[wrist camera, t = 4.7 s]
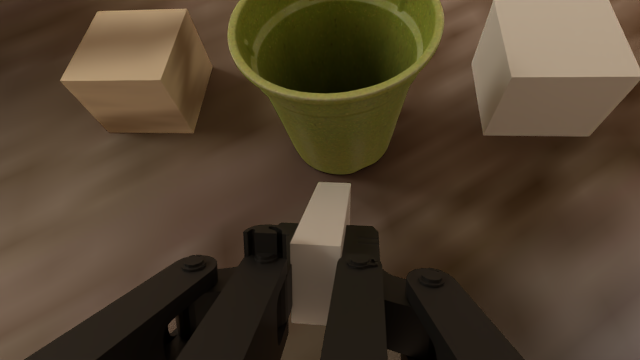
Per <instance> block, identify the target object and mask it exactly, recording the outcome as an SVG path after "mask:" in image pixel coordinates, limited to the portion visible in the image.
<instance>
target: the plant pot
mask: <svg viewBox="0 0 640 360" xmlns="http://www.w3.org/2000/svg"><path fill="white" fill-rule="evenodd" d="M443 28H444V12H443V8H442V5H441V2H440V0H240V1H239V2H238V3H237V5H236V7H235V8H234V10H233V12H232V15H231V17H230V20H229V24H228V34H227V38H228V46H229V50H230V53H231V56H232V58H233V60H234V62H235V64H236V66H237V67H238V69H239V70H240V71H241V73H242V74H243V75H244V76H245V77H246V78H247V79H248V80H249V81H250V82H251V83H253V84H254V85H255V86H257V87H258V88H260V89H261V91H262V92H263V93H264V94H265V95H266V96H268V97H269V99H270V101H271V103H272V105H273V107H274V108H275V110H276V112H277V114H278V116H279V118H280V120H281V121H282V123H283V125H284V127H285V129H286V131H287V133H288V135H289V137H290V139H291V141H292V143H293V145H294V147H295V149H296V150H297V152H298V153H299V155H300V156H301V157H302V159H303V160H304V161H305V162H306V163H307V164H309V165H310V166H312V167H313V168H315V169H317V170H320V171H323V172H326V173H331V174H350V173H354V172H356V171H358V170H360V169H362V168H364V167H366V166H369V165H371V164H373V163H375V162H377V161H378V160H379V159H380V158H381V157H382V156H383V154H384V153H385V151H386V150H387V148H388V146H389V143H390V140H391V137H392V135H393V132H394V129H395V126H396V123H397V120H398V117H399V114H400V112H401V109H402V106H403V103H404V100H405V98H406V95H407V92H408V89H409V86H410V84H411V83H412V82H413V81H414V79H415V78H416V76H417V75H418V73H419V72H420V71H421V70H422V69H423V68H424V67H425V66H426V65H427V63H428V62H429V61H430V59H431V58H432V57H433V55H434V54H435V52H436V50H437V48H438V46H439V43H440V40H441V37H442V34H443Z"/></svg>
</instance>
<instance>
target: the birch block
mask: <svg viewBox="0 0 640 360" xmlns="http://www.w3.org/2000/svg"><path fill="white" fill-rule="evenodd" d="M212 68H213V67H212V64H211V62H210V60H209V58H208V55H207V53H206V51H205V48H204V46H203V44H202V42H201V39H200V37H199V35H198V33H197V30H196V28H195V26H194V24H193V21H192V19H191V17H190V14H189V12H188V10H187V9H157V10H122V11H97V13H96V15H95V17H94V19H93V21H92V22H91V24H90V26H89V28H88V30H87V32H86V33H85V35H84V37H83V39H82V41H81V43H80V45H79V46H78V48H77V50H76V52H75V54H74V56H73V57H72V59H71V61H70V63H69V65H68V67H67V69H66V70H65V72H64V74H63V76H62V78H61V80H60V82H61V83H62V84H63V85H64V86H65V87H66V88H67V89H68V90H69V91H70V92H71V93H72V94H73V95H74V96H75V97H76V98H77V100H78V101H79V102H80V103H81V104H82V105H83V106H84V107H85V108H86V109H87V110H88V111H89V112H90V113H91V114H92V115H93V116H94V117H95V118H96V120H97V121H98V122H99V123H100V124H101V125H102V126H103V127H104V128H105V129H106V130H107V131H108V132H109V133H194V131H195V127H196V124H197V120H198V117H199V113H200V110H201V106H202V103H203V99H204V96H205V92H206V89H207V85H208V82H209V78H210V75H211V71H212Z"/></svg>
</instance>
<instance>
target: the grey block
mask: <svg viewBox="0 0 640 360" xmlns="http://www.w3.org/2000/svg"><path fill="white" fill-rule="evenodd" d="M472 71H473V77H474V83H475V89H476V95H477V101H478V107H479V113H480V119H481V126H482V132H483V135H486V136H588V137H589V136H590V135H591V134H592V133H593V132H594V131H595V130H596V128H597V127H598V126H599V125H600V124H601V123H602V122H603V121H604V120H605V118H606V117H607V116H608V115H609V114H610V113H611V112H612V111H613V110H614V109H615V107H616V106H617V105H618V104H619V103H620V102H621V101H622V100H623V99H624V98H625V96H626V95H627V94H628V93H629V92H630V91H631V90H632V89H633V88H634V87H635V85H636V84H637V83H638V82H639V81H640V68H639V66H638V63H637V61H636V59H635V57H634V55H633V52H632V50H631V48H630V46H629V44H628V41H627V39H626V37H625V35H624V33H623V30H622V28H621V26H620V24H619V22H618V19H617V17H616V15H615V13H614V11H613V8H612V6H611V4H610V2H609V0H493V3H492V6H491V9H490V12H489V15H488V18H487V20H486V23H485V26H484V29H483V32H482V35H481V38H480V41H479V43H478V46H477V49H476V52H475V55H474V58H473V61H472Z"/></svg>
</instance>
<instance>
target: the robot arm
mask: <svg viewBox="0 0 640 360" xmlns="http://www.w3.org/2000/svg"><path fill="white" fill-rule="evenodd" d="M350 201H351V183H331V182H318V184H317V186H316V188H315V190H314V193H313V195H312V197H311V199H310V201H309V203H308V206H307V208H306V210H305V212H304V214H303V216H302V219H301V221H300V223H280V224H279V225H258V226H253V227H250V228H248V229H246V230H245V231H244V232H243V235H244V253H245V257H244V258H243V260H242V261H241V263H240V264H239V266H238V267H233V268H224V269H217V261H216V260H215V259H214V258H212V257H210V256H203V255H196V256H195V255H191V256H189V257H186V258H183V259H180V260H178V261H176V262H175V263H173V264H172V265H170V266H168V267H167V268H165V269H164V270H162V271H161V272H159V273H158V274H156V275H155V276H153V277H151V278H150V279H148V280H147V281H145V282H144V283H142V284H141V285H139V286H137V287H136V288H134V289H133V290H131V291H130V292H128V293H127V294H125V295H124V296H122V297H120V298H119V299H117V300H116V301H114V302H113V303H111V304H110V305H108V306H107V307H105V308H103V309H102V310H100V311H99V312H97V313H96V314H94V315H93V316H91V317H89V318H88V319H86V320H85V321H83V322H82V323H80V324H79V325H77V326H76V327H74V328H72V329H71V330H69V331H68V332H66V333H65V334H63V335H62V336H60V337H58V338H57V339H55V340H54V341H52V342H51V343H49V344H48V345H46V346H45V347H43V348H41V349H40V350H38V351H37V352H35V353H34V354H32V355H31V356H29V357H27V358H26V359H24V360H280V359H281V356H282V353H283V349H284V346H285V343H286V340H287V336H288V318H289V315H290V312H291V321H292V323H300V324H312V325H324V326H326V330H325V336H324V341H323V347H322V353H321V359H320V360H388V356H387V349H389V350H392V351H395V352H398V353H401V360H524V359H523V357H522V356H521V355H520V354H519V353H518V352H517V350H516V349H515V348H514V347H513V346H512V345H511V344H510V342H509V341H508V340H507V339H506V338H505V337H504V335H503V334H502V333H501V332H500V331H499V330H498V329H497V327H496V326H495V325H494V324H493V323H492V322H491V320H490V319H489V318H488V317H487V316H486V315H485V314H484V312H483V311H482V310H481V309H480V308H479V307H478V305H477V304H476V303H475V302H474V301H473V300H472V299H471V297H470V296H469V295H468V294H467V293H466V292H465V290H464V289H463V288H462V287H461V286H460V285H459V284H458V282H457V281H456V280H455V279H454V278H453V277H451V276H450V275H449V274H447V273H445V272H442V271H440V270H437V269H433V268H421V269H415V270H413V271H411V272H409V273H408V275H407V279H402V278H399V277H395V276H393V275H391V274H388V273H387V272H386V271H384V270H383V269H382V264H381V262H380V254H379V237H378V231H377V230H376V229H375V228H374V227H373V226H356V225H350ZM174 318H176V326H177V329H175V330H174V331H173V332H172V333H170V334H169V332H168V324H169V323H170V322H171V321H172V320H173V319H174Z"/></svg>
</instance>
